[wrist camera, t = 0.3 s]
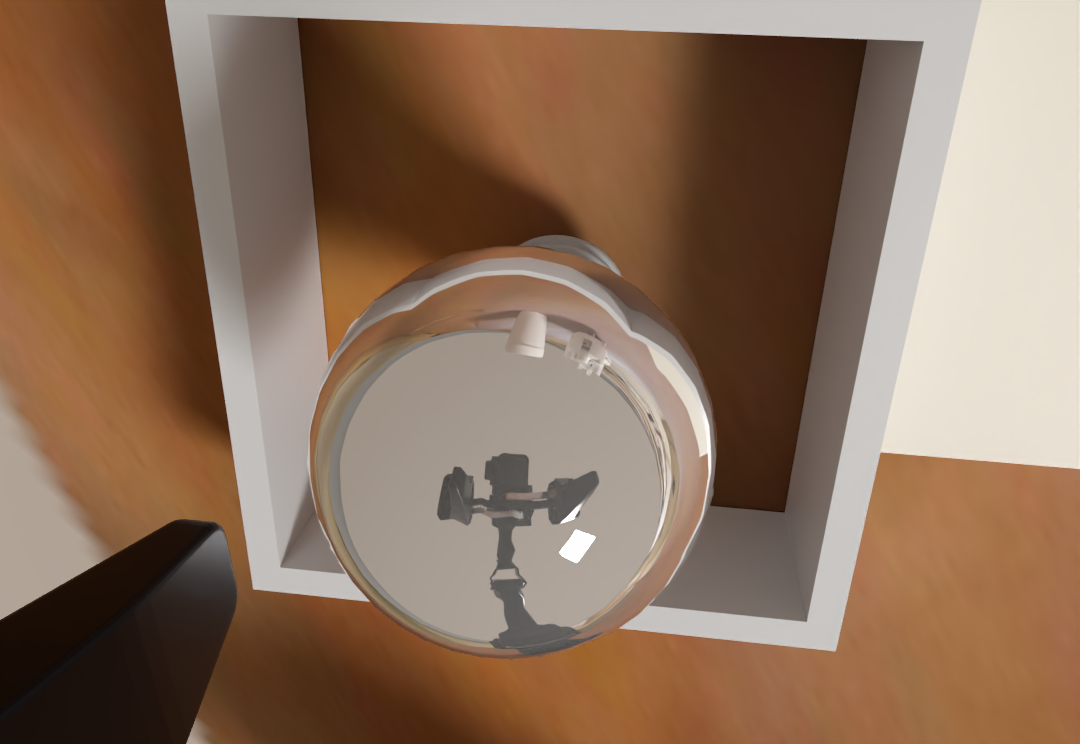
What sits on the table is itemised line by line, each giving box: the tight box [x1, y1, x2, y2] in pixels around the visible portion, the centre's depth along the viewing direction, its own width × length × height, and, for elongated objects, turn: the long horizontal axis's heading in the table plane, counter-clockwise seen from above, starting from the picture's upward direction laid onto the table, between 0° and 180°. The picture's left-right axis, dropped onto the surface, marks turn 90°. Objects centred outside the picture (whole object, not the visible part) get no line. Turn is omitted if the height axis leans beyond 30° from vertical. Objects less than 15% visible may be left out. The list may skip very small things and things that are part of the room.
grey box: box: [165, 0, 982, 651], centre depth 21 cm, size 15×15×4 cm
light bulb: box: [307, 235, 718, 660], centre depth 18 cm, size 7×7×12 cm
